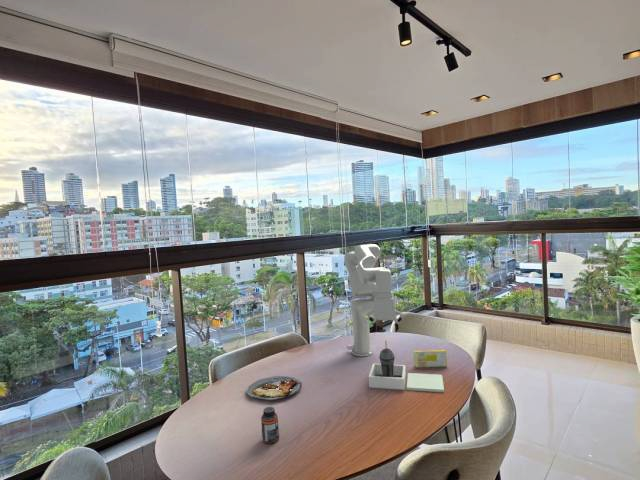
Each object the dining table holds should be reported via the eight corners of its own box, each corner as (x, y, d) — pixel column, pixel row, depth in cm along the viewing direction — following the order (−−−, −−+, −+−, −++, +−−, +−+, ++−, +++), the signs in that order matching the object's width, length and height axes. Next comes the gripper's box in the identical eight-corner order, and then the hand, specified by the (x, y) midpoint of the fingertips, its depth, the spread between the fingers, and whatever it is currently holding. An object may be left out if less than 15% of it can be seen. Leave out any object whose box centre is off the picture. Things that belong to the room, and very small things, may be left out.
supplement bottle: (263, 435, 133) (261, 405, 133) (279, 434, 133) (277, 404, 133) (261, 445, 127) (259, 414, 127) (278, 443, 128) (277, 412, 127)
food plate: (309, 383, 175) (309, 376, 175) (285, 407, 154) (284, 398, 154) (266, 378, 185) (265, 371, 185) (237, 399, 164) (237, 392, 164)
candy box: (446, 365, 188) (445, 349, 188) (447, 367, 186) (446, 351, 186) (414, 365, 190) (413, 350, 190) (415, 367, 188) (414, 351, 187)
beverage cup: (396, 378, 175) (394, 337, 175) (394, 385, 169) (392, 342, 168) (381, 377, 178) (379, 337, 177) (379, 383, 171) (377, 341, 170)
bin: (369, 387, 168) (368, 376, 167) (373, 373, 183) (373, 363, 183) (404, 389, 163) (404, 378, 163) (405, 375, 179) (405, 365, 178)
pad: (406, 389, 163) (406, 387, 163) (408, 375, 178) (407, 372, 178) (444, 392, 159) (444, 389, 159) (442, 377, 174) (442, 374, 174)
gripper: (364, 297, 170) (366, 333, 171) (402, 296, 165) (404, 333, 166) (367, 294, 177) (369, 328, 178) (403, 293, 173) (405, 329, 173)
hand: (386, 331), depth 172 cm, fingers open, 9 cm apart
